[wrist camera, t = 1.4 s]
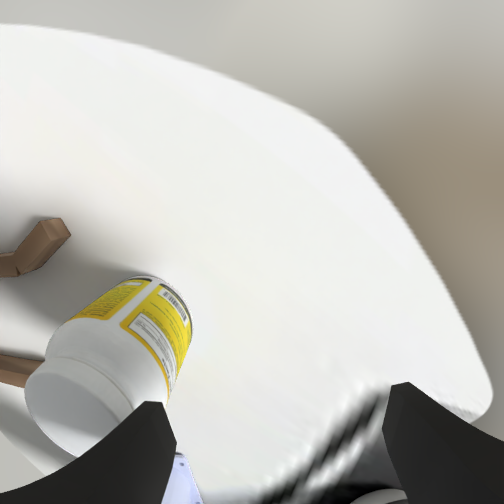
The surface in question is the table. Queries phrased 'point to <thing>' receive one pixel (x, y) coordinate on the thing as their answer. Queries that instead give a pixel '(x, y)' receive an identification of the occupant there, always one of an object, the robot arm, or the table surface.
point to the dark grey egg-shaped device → (383, 497)
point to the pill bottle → (110, 362)
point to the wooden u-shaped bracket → (18, 263)
